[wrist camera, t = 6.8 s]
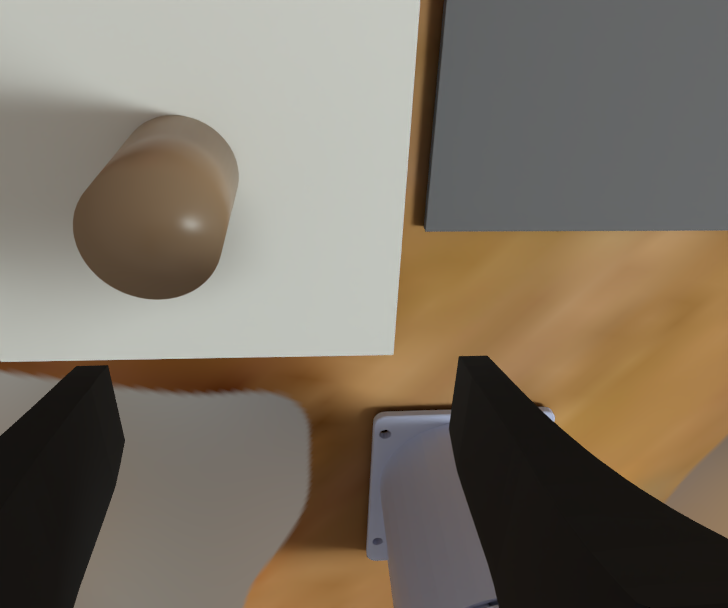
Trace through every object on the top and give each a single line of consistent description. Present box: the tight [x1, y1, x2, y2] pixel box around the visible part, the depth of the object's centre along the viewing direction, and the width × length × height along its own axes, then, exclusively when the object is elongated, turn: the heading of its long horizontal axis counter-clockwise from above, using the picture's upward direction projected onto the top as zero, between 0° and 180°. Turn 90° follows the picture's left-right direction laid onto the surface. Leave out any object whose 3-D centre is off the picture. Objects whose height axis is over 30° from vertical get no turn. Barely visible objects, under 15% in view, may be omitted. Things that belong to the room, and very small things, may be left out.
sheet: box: [0, 0, 420, 362], centre depth 15 cm, size 12×12×4 cm
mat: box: [424, 0, 728, 231], centre depth 20 cm, size 13×13×1 cm
